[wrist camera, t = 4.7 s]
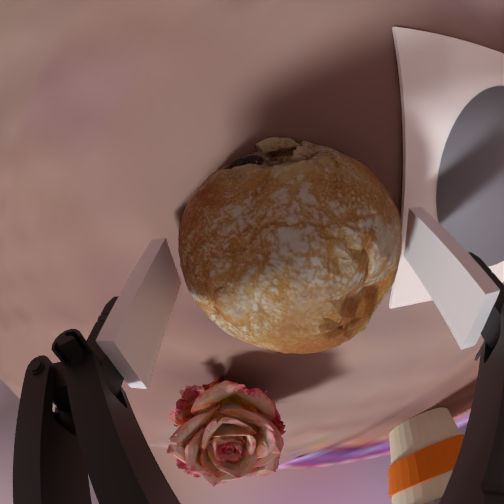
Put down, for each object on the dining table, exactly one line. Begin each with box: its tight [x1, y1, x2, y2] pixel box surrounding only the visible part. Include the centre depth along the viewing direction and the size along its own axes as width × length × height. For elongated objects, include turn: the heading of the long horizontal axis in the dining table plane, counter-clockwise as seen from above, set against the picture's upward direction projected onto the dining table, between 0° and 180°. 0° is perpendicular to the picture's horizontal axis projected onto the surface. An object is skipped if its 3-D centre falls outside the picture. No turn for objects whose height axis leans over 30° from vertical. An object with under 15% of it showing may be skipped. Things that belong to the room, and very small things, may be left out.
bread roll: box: [179, 137, 402, 354], centre depth 13 cm, size 10×10×8 cm
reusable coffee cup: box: [388, 407, 464, 504], centre depth 23 cm, size 13×13×15 cm
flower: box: [167, 376, 286, 486], centre depth 20 cm, size 10×9×8 cm
